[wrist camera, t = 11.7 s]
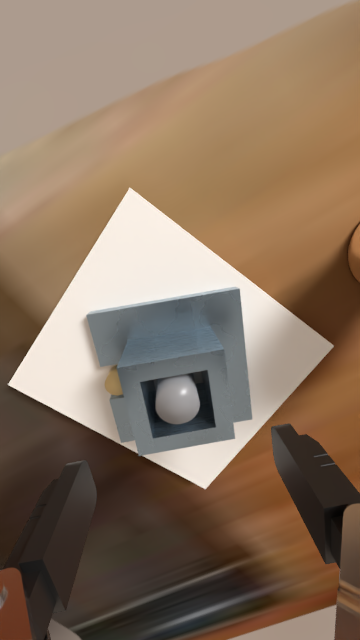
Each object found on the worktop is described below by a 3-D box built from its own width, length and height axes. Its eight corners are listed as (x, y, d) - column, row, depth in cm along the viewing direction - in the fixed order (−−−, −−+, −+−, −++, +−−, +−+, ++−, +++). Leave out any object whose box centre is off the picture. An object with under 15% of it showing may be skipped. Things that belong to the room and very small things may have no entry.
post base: (322, 339, 20) (392, 378, 14) (202, 474, 23) (217, 556, 17) (132, 193, 17) (113, 158, 10) (19, 374, 20) (-49, 433, 13)
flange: (235, 286, 17) (263, 300, 12) (248, 411, 20) (275, 462, 15) (90, 311, 17) (61, 335, 12) (123, 433, 20) (109, 492, 15)
